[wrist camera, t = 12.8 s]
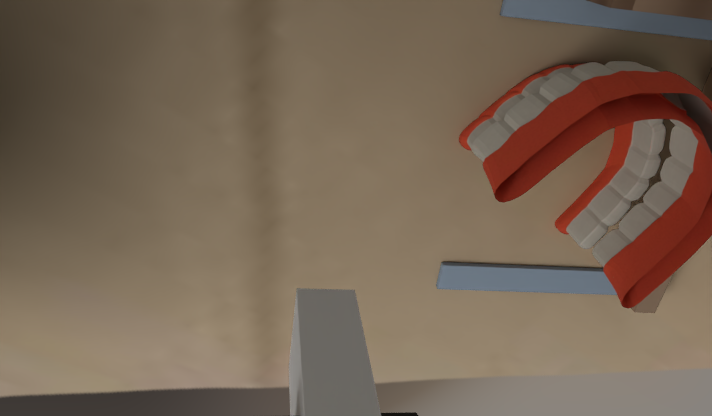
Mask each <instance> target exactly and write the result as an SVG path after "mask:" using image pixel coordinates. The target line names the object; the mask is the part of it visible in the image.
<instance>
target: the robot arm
mask: <svg viewBox="0 0 712 416" xmlns="http://www.w3.org/2000/svg"><path fill="white" fill-rule="evenodd" d="M289 388H290V416H418V415H417V413H381V412H380V408H379V403H378V398H377V393H376V388H375V384H374V379H373V374H372V369H371V365H370V360H369V355H368V351H367V346H366V341H365V336H364V332H363V327H362V322H361V317H360V313H359V308H358V303H357V298H356V294H355V290H338V289H300V288H297V291H296V301H295V311H294V321H293V331H292V341H291V351H290V361H289Z"/></svg>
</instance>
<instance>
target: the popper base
mask: <svg viewBox="0 0 712 416" xmlns="http://www.w3.org/2000/svg"><path fill="white" fill-rule="evenodd" d="M587 1H590V2H593V3H596V4H600V5H603V6H606V7H609V8H615V9H623V10H632V11H640V12H648V13H656V14H664V15H672V16H681V17H689V18H697V19H705V20H712V0H587Z"/></svg>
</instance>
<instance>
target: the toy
mask: <svg viewBox="0 0 712 416" xmlns="http://www.w3.org/2000/svg"><path fill="white" fill-rule="evenodd" d="M663 119H670V121H671V122H673V123H674V124H675V126H674V127H673V128H672V131H671V137H670V143H669V150H670V153H671V155H672V156H671V157H669V158H667V159H666V160H665V162H664V164H663V166H662V169H661V172H660V177H661V180H662V181H661V182H658V183H655V184H654V185H653V186H652V187H651V188H650V189H649V190H648V192H647V193H646V194H645V196H644V197H643V202H644V203H639V204H637V205H635V206H634V207H633V208H632V209H631V210H630V211H629V212H628V213H627V211H628V210H629V209H630V207H631V201H634V200H638V199H639V198H640V197H641V196H642V195H643V194H644V192H645V191H646V190H647V189H648V187H649V179H650V178H651V177H653V176H654V175H655V174H656V173H657V171H658V168H659V166H660V163H661V158H660V156H659V153H660V152H661V151H662V150H663V147H664V143H665V135H666V127H665V126H664V124H663V123H662V122H663ZM614 127H615V133H614V143H613V147H612V150H611V153H610V156H609V158H608V161H607V164H606V167H605V169H604V170H603V171H602V172H601V173H600V175H599V176H598V177H597V178H596V179H595V180H594V182H593V183H592V184H591V185H590V186H589V187H588V188H587V189H586V190H585V191H584V192H583V193H582V195H581V196H580V197H579V198H578V199H577V200H576V201H575V202H574V203H573V204H572V205H571V206H570V207H569V208H568V209H567V210H566V211H565V212H564V213H563V214H562V215H561V216H560V217H559V218H558V219H557V220H556V222H555V226H556V228H557V229H558V230H559V231H560V232H562V233H564V234H570V235H571V237H572V238H573V239H574V240H575V241H576V243H577V244H578V245H579V246H580V247H582V248H584V249H590V248H591V247H592V246H594V245H595V244H596V243H597V242H598V241H599V240H600V239H601V238H602V237H603V236H604V235H605V234H606V232H607V231H608V226H611V225H615V224H616V223H617V222H618V221H619V220H620V219H621V218H622V217H623V216H624V215H625V214H626V213H627V214H626V216H625V217H624V218H623V219H622V220H621V222H620V223H619V228H618V229H615V230H612V231H610V232H609V233H608V234H607V235H606V236H605V237H604V238H603V239H601V240H600V241H599V242H598V243H597V244H596V246H595V247H594V248H593V253H592V254H593V256H594V257H595V258H596V260H597V261H598V262H599V263H600V264H601V265H602V266H603V267H604V268H603V272H604V273H605V275H606V277H607V278H608V280H609V281H610V283H611V284H612V286H613V288H614V289H615V291H616V293H617V295H618V297H619V299H620V302H621V304H622V306H623V307H625V308H632V307H634V306H636V305H637V304H638V303H640V302H641V301H642V300H643V299H644V298H646V297H647V296H648V295H649V294H650V293H651V292H652V291H654V290H655V289H656V288H657V287H658V286H660V285H661V284H662V283H663V282H664V281H665V280H666V279H668V278H669V277H670V276H671V275H672V274H673V273H674V272H675V271H676V270H677V269H678V268H679V267H680V266H681V265H683V264H684V263H685V262H686V261H687V260H688V259H689V258H690V257H691V256H692V255H693V254H694V253H695V252H696V251H697V250H698V249H699V248H700V247H701V246H702V245H703V244H704V243H705V242H706V241H707V240H708V239H709V238H710V236H711V235H712V101H711V100H710V99H709V98H708V97H707V96H705V95H704V94H703V93H702V92H701V91H700V90H699V89H698V88H696V87H695V86H694V85H692V84H691V83H690V82H688V81H687V80H685V79H684V78H682V77H681V76H679V75H677V74H674V73H671V72H668V71H663V72H660V71H657V70H655V69H653V68H651V67H648V66H643V65H641V64H639V63H637V62H631V61H611V62H608V63H607V64H605V65H603V64H600V63H597V62H590V63H582V64H574V65H568V64H566V65H559V66H555V67H551V68H548V69H546V70H543V71H541V72H540V73H538V74H534V75H532V76H530V77H528V78H526V79H525V80H523V81H522V82H520V83H519V84H517V85H516V86H515V87H513V88H512V89H511V90H509V91H508V92H507V93H506V95H504V96H502V97H501V98H499V99H498V100H497V101H496V102H494V103H493V104H492V105H491V106H490V107H489V108H487V109H486V110H485V111H484V112H483V113H482V114H481V115H480V116H479V118H478V119H476V120H474V121H473V122H472V123H471V124H470V125H469V126H468V127H466V128H465V130H464V131H463V132H462V133H461V134H460V137H459V142H460V144H461V145H462V146H463V147H464V148H465V149H467V150H472V151H473V153H474V154H475V155H476V156H477V157H479V158H480V159H481V160H482V161H483V167H484V170H485V173H486V175H487V177H488V179H489V181H490V184H491V186H492V189H493V192H494V195H495V198H496V199H497V200H498V201H499V202H507V201H511V200H513V199H515V198H517V197H519V196H521V195H522V194H524V193H525V192H527V191H528V190H529V189H531V188H532V187H533V186H534V185H536V184H537V183H538V182H539V181H540V180H542V179H543V178H544V177H545V176H546V175H548V174H549V173H550V172H551V171H552V170H554V169H555V168H556V167H558V166H559V165H560V164H561V163H563V162H564V161H565V160H566V159H568V158H569V157H570V156H572V155H573V154H574V153H575V152H577V151H578V150H579V149H581V148H582V147H583V146H585V145H586V144H587V143H589V142H590V141H592V140H593V139H595V138H596V137H597V136H599V135H600V134H602V133H603V132H605V131H607V130H609V129H611V128H614Z"/></svg>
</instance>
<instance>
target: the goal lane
mask: <svg viewBox="0 0 712 416" xmlns="http://www.w3.org/2000/svg"><path fill="white" fill-rule="evenodd" d="M500 15H501V16H507V17H515V18H524V19H533V20H541V21H550V22H558V23H567V24H576V25H584V26H593V27H602V28H610V29H619V30H627V31H636V32H645V33H653V34H662V35H670V36H679V37H688V38H696V39H705V40H712V20H705V19H697V18H689V17H681V16H672V15H664V14H656V13H648V12H640V11H632V10H623V9H615V8H609V7H606V6H603V5H600V4H596V3H593V2H590V1H587V0H503V4H502V8H501V12H500ZM702 93H703V94H704V95H705V96H707V97H708V98H709V99H710V100H711V101H712V69H711V72H710V74H709V76H708V79H707V81H706V83H705V86H704V88H703V90H702ZM673 274H674V273H673ZM673 274H672V275H671V276H670V277H669V278H668V279H666V280H665V281H664V282H663V283H662V284H661V285H660V286H658V287H657V288H656V289H655V290H654V291H652V292H651V293H650V294H649V295H648V296H647V297H646V298H644V299H643V300H642V301H641V302H640V303H638V304H637V305H636V306H634V307H632V308H631V309H632V310H633V311H634V312H642V313H655V311H656V309H657V307H658V305H659V303H660V301H661V299H662V297H663V295H664V293H665V291H666V288H667V286H668V284H669V282H670V280H671V278H672V276H673ZM436 286H437V289H454V290H484V291H515V292H545V293H576V294H607V295H617V293H616V291H615V289H614V288H613V286H612V284H611V283H610V281H609V280H608V278H607V277H606V275H605V273H604V272H603V269H601V268H576V267H551V266H527V265H502V264H478V263H453V262H442V263H441V267H440V272H439V276H438V280H437V284H436Z"/></svg>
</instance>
